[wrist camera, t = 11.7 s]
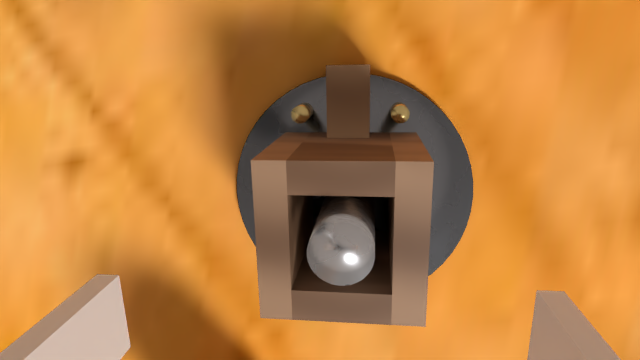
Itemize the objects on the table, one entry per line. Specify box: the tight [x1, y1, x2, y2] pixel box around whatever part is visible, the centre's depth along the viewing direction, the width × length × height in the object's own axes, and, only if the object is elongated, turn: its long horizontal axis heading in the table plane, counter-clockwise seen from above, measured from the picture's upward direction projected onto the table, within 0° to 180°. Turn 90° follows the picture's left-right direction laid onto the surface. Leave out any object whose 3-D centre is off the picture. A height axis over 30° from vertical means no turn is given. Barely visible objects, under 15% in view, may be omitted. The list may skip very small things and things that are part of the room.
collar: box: [251, 64, 434, 327], centre depth 23 cm, size 12×8×8 cm, turn 1°
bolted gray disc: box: [237, 74, 473, 286], centre depth 23 cm, size 15×15×9 cm
